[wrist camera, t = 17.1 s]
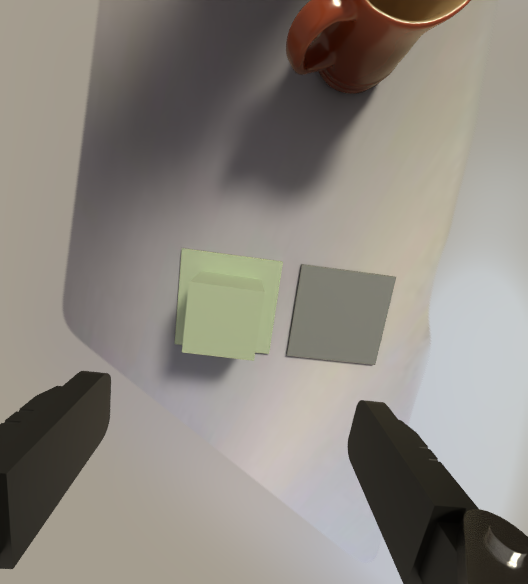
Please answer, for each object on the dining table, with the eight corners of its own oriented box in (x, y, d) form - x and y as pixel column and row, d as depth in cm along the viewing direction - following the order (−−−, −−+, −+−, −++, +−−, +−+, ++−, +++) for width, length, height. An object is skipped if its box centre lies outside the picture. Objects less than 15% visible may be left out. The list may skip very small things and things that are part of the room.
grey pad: (301, 264, 28) (302, 264, 28) (394, 276, 29) (396, 277, 29) (286, 354, 30) (287, 355, 30) (373, 363, 31) (375, 364, 31)
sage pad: (182, 248, 27) (181, 248, 27) (282, 261, 28) (282, 261, 28) (175, 342, 29) (174, 344, 29) (268, 352, 30) (268, 353, 30)
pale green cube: (201, 270, 27) (189, 281, 21) (261, 279, 28) (264, 292, 22) (195, 327, 28) (181, 352, 23) (252, 334, 29) (253, 360, 23)
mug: (371, -30, 23) (465, -232, 13) (415, 72, 25) (527, -36, 15) (251, 54, 24) (253, -74, 14) (302, 147, 26) (337, 93, 16)
